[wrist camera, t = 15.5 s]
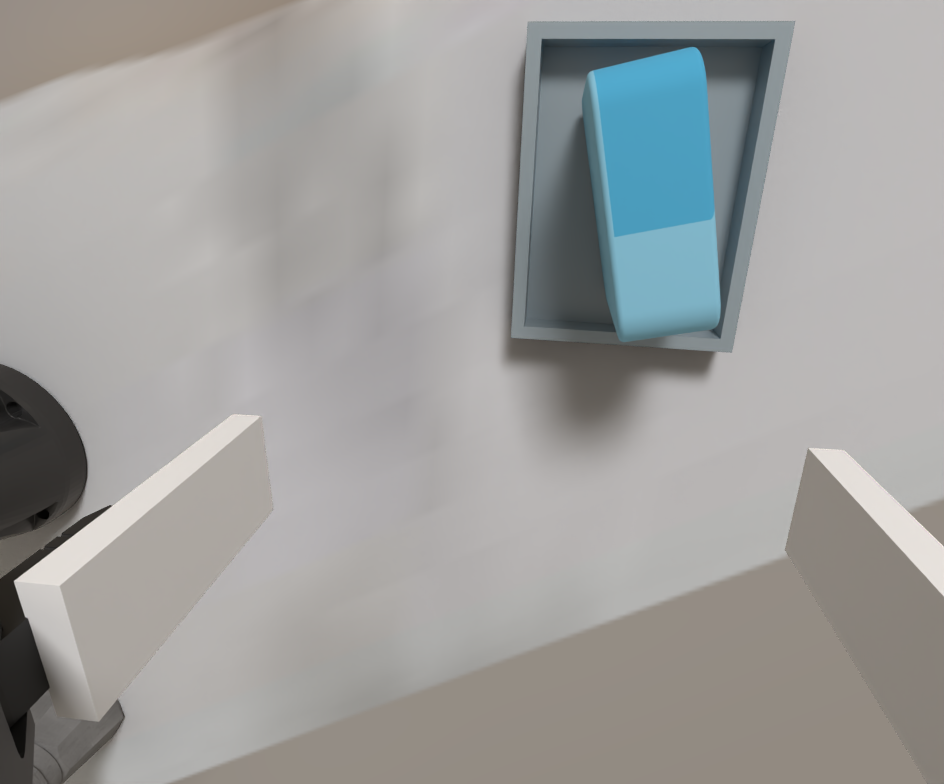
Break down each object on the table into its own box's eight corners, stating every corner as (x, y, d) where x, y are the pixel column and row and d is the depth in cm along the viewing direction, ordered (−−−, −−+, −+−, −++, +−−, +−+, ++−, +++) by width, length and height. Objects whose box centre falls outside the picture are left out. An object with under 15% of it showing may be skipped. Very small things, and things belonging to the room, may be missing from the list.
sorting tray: (514, 326, 41) (511, 337, 38) (530, 33, 35) (527, 21, 32) (720, 339, 39) (731, 352, 36) (776, 33, 33) (795, 21, 30)
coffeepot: (156, 732, 62) (4, 940, 45) (100, 759, 65) (-62, 964, 48) (50, 625, 58) (-156, 808, 42) (-3, 659, 61) (-216, 841, 45)
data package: (677, 287, 38) (724, 336, 27) (605, 299, 39) (621, 351, 28) (660, 80, 34) (705, 37, 23) (580, 99, 35) (586, 66, 24)
